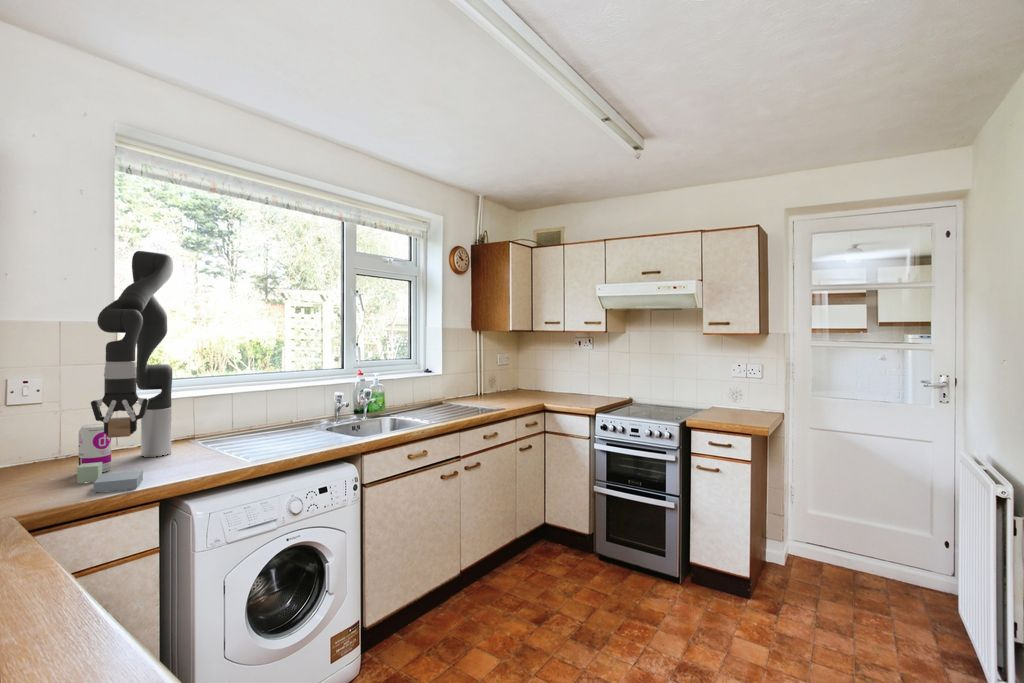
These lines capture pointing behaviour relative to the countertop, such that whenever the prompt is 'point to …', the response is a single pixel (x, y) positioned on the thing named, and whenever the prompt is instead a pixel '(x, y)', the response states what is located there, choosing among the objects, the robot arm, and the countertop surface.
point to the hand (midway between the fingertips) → (120, 433)
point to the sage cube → (89, 472)
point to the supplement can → (94, 446)
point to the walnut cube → (119, 427)
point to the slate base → (118, 481)
